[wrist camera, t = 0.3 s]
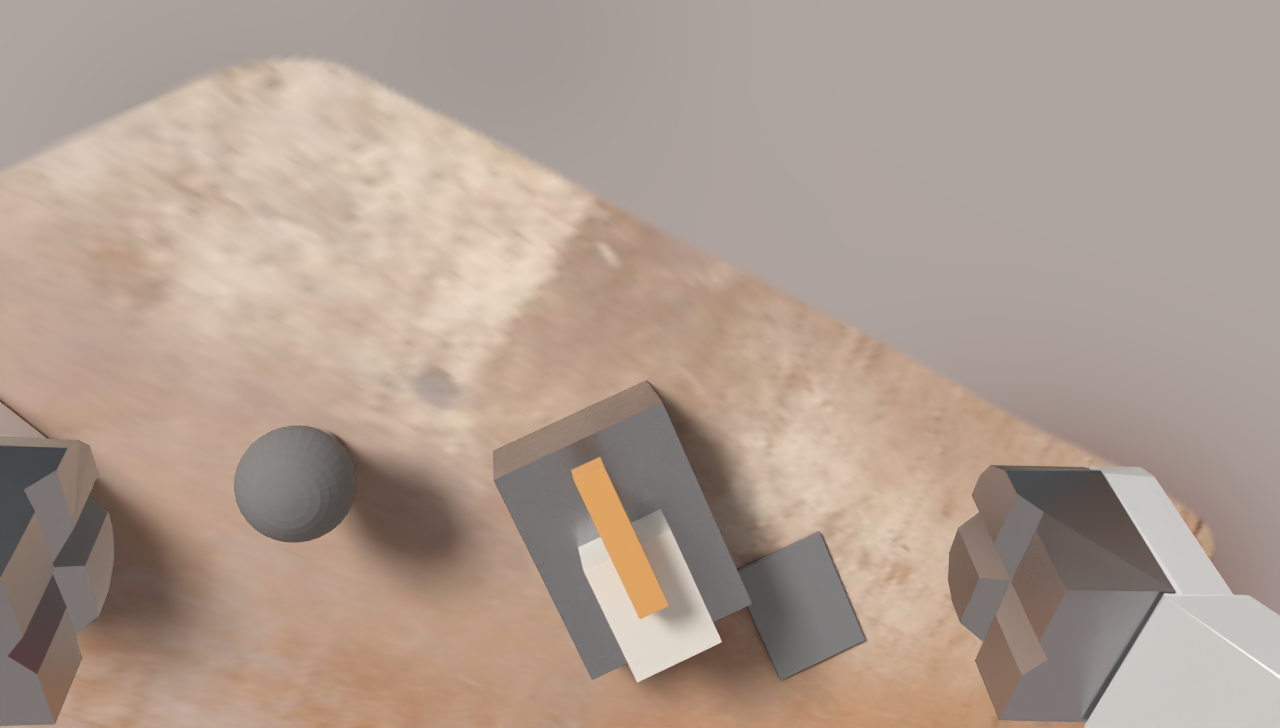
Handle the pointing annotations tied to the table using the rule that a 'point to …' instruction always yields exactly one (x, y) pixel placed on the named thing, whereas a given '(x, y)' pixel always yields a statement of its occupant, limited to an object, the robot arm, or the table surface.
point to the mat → (800, 606)
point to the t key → (619, 537)
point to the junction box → (645, 482)
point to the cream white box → (666, 630)
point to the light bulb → (295, 483)
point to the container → (15, 425)
